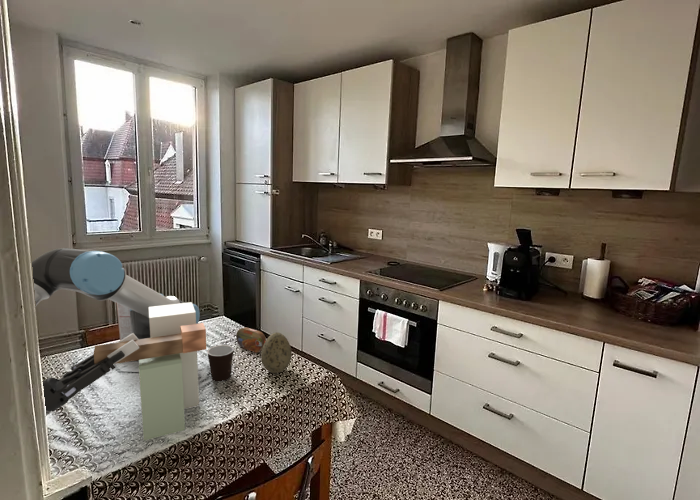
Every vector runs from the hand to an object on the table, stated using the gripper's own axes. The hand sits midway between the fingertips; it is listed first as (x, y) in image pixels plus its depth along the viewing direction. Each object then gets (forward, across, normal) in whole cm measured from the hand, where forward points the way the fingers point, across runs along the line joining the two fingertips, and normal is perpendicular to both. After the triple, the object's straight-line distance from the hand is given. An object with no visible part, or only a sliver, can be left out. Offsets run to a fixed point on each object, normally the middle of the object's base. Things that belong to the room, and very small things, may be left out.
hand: (135, 340), depth 99 cm
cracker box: (-15, -66, -22) cm, 71 cm away
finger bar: (+1, 0, -6) cm, 6 cm away
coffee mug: (+9, -22, -36) cm, 43 cm away
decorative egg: (+24, -16, -44) cm, 53 cm away
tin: (+21, -39, -43) cm, 61 cm away
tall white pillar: (-5, -11, -28) cm, 30 cm away
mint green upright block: (-9, 0, -26) cm, 27 cm away
